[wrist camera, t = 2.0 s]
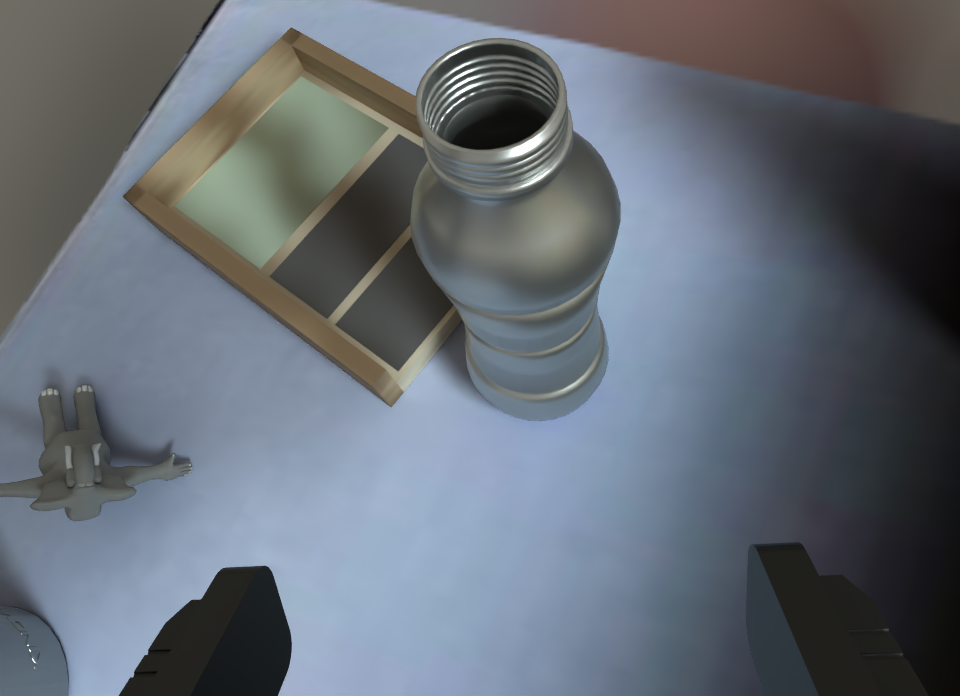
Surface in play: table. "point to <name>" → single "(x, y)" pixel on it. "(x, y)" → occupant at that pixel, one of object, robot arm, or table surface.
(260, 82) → the box
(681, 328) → the table surface
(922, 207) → the table surface
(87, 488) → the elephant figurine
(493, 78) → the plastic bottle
